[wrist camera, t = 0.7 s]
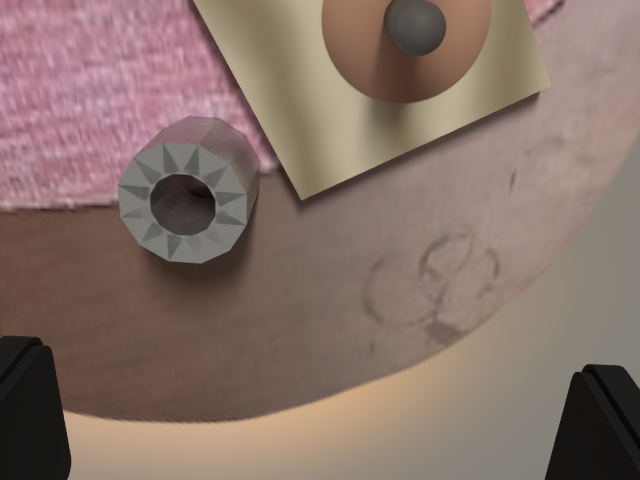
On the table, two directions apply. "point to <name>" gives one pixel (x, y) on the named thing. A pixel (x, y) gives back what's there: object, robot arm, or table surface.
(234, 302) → the table surface
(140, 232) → the steel collar
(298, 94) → the hub board
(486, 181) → the table surface
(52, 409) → the robot arm
